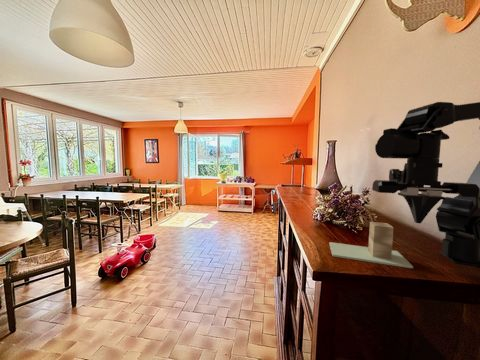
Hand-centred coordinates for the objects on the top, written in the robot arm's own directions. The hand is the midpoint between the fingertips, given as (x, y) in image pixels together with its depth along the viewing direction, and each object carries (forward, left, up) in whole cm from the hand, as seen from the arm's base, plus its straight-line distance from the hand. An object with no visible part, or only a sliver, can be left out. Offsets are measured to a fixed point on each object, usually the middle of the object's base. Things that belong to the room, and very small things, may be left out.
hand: (417, 222), depth 49 cm
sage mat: (+11, 0, -10) cm, 14 cm away
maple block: (+8, 0, -9) cm, 12 cm away
